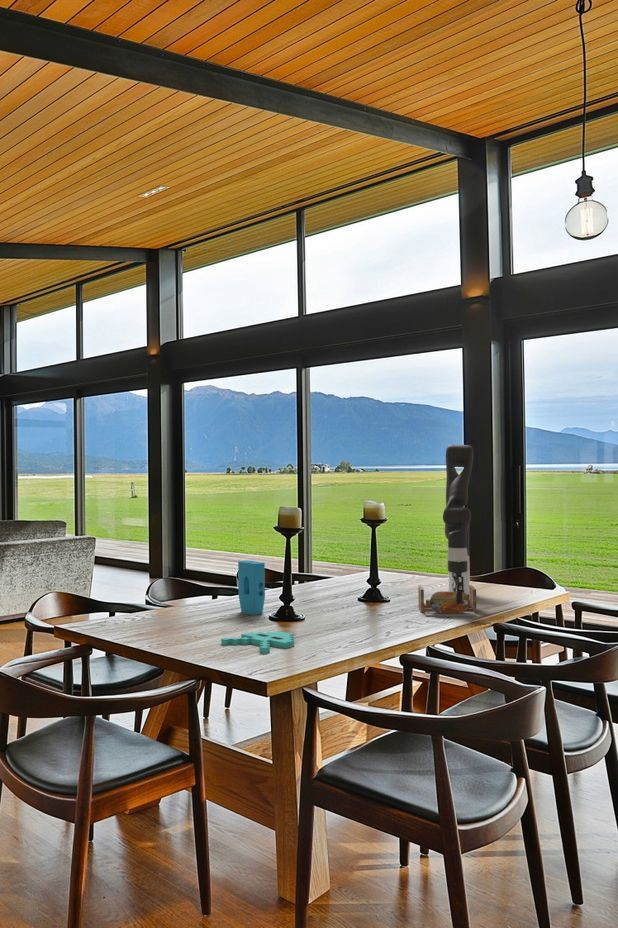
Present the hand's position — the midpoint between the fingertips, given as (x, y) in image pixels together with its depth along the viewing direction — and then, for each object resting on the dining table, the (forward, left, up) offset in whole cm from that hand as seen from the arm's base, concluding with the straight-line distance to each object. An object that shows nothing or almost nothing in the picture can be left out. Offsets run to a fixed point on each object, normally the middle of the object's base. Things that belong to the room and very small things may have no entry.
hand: (457, 601), depth 298 cm
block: (-4, -80, -5) cm, 80 cm away
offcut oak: (-13, -8, -3) cm, 16 cm away
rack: (-10, -3, -5) cm, 12 cm away
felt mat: (0, -3, -5) cm, 6 cm away
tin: (-1, -3, -5) cm, 6 cm away
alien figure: (+48, -69, -6) cm, 84 cm away
